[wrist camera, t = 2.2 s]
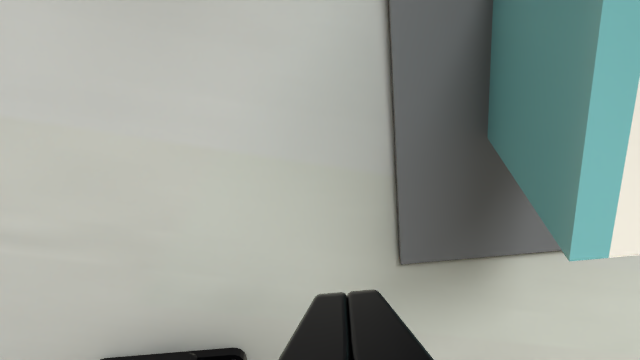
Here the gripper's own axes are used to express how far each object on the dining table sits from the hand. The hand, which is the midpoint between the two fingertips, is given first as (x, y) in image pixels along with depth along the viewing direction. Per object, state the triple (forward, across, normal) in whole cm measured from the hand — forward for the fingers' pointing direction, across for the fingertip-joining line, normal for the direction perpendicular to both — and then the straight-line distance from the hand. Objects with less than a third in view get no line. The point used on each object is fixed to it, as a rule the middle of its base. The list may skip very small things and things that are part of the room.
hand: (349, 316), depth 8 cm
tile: (+12, -6, 0) cm, 13 cm away
